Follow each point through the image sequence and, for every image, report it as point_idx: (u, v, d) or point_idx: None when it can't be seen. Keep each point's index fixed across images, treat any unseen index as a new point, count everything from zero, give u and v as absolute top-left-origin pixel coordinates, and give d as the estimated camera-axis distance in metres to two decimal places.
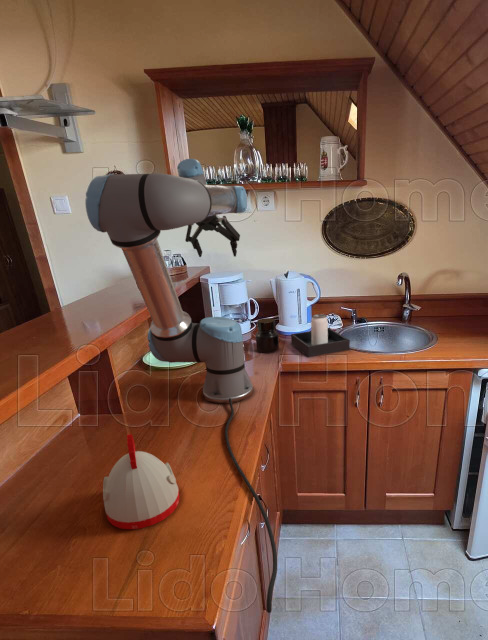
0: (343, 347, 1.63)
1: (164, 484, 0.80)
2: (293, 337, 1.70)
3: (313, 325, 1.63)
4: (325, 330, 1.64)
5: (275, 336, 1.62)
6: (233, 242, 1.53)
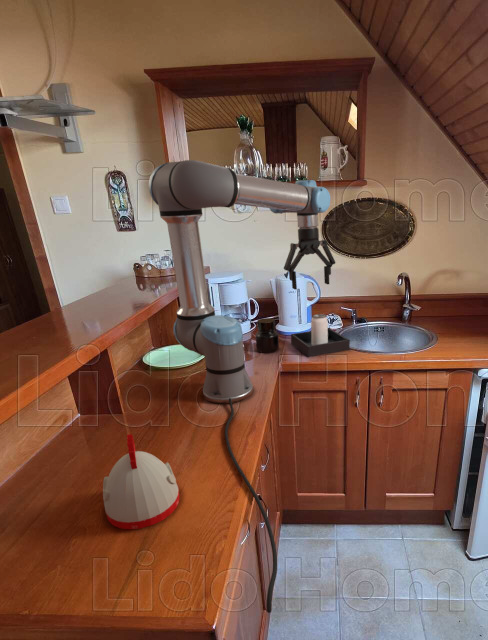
0: (343, 347, 1.63)
1: (164, 484, 0.80)
2: (293, 337, 1.70)
3: (313, 325, 1.63)
4: (325, 330, 1.64)
5: (275, 336, 1.62)
6: (331, 264, 1.59)
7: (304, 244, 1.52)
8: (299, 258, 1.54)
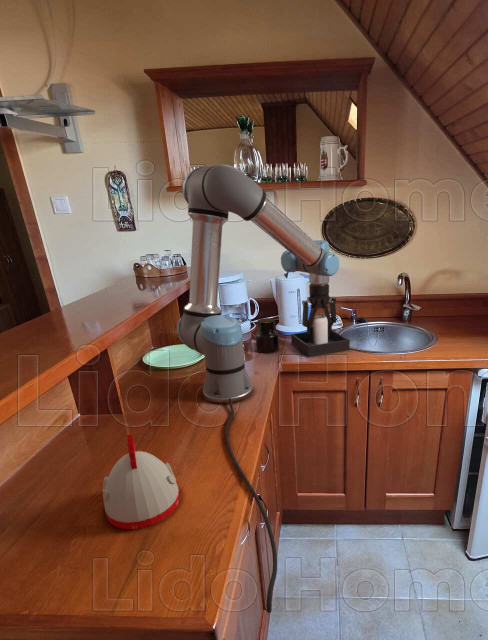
0: (343, 347, 1.63)
1: (164, 484, 0.80)
2: (293, 337, 1.70)
3: (313, 325, 1.63)
4: (325, 330, 1.64)
5: (275, 336, 1.62)
6: (332, 323, 1.65)
7: (314, 298, 1.59)
8: (313, 314, 1.61)
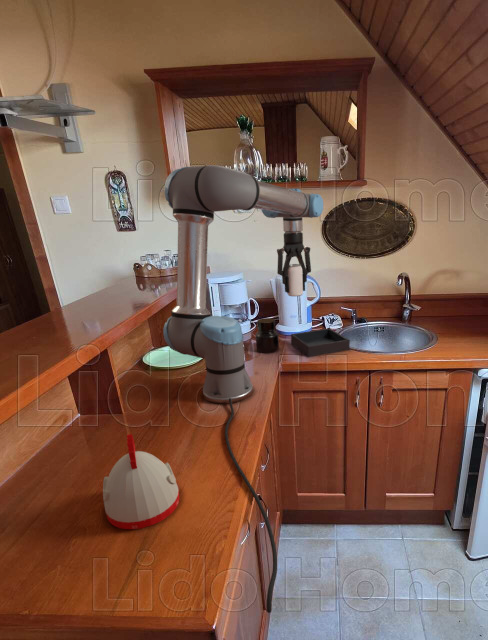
0: (343, 347, 1.63)
1: (164, 484, 0.80)
2: (293, 337, 1.70)
3: (288, 274, 1.68)
4: (300, 279, 1.69)
5: (275, 336, 1.62)
6: (307, 273, 1.70)
7: (288, 246, 1.64)
8: (288, 262, 1.66)
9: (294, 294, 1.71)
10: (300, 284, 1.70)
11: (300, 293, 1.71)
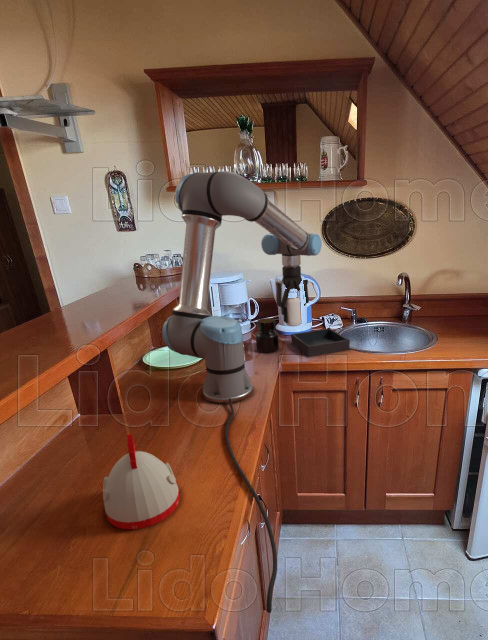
0: (343, 347, 1.63)
1: (164, 484, 0.80)
2: (293, 337, 1.70)
3: (286, 305, 1.75)
4: (298, 310, 1.76)
5: (275, 336, 1.62)
6: (305, 304, 1.77)
7: (287, 279, 1.71)
8: (286, 294, 1.73)
9: (292, 324, 1.77)
10: (298, 314, 1.77)
11: (298, 323, 1.78)
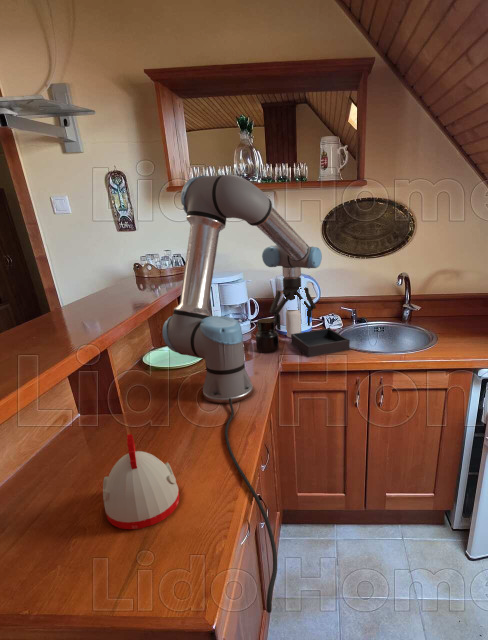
0: (343, 347, 1.63)
1: (164, 484, 0.80)
2: (293, 337, 1.70)
3: (287, 317, 1.77)
4: (298, 322, 1.78)
5: (275, 336, 1.62)
6: (312, 309, 1.79)
7: (288, 291, 1.73)
8: (283, 303, 1.74)
9: None
10: (298, 326, 1.79)
11: None
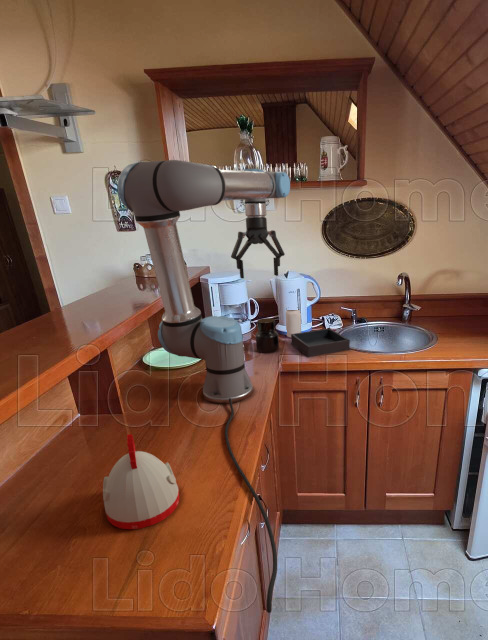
0: (343, 347, 1.63)
1: (164, 484, 0.80)
2: (293, 337, 1.70)
3: (287, 317, 1.77)
4: (298, 322, 1.78)
5: (275, 336, 1.62)
6: (280, 256, 1.59)
7: (251, 233, 1.52)
8: (246, 247, 1.53)
9: None
10: (298, 326, 1.79)
11: None
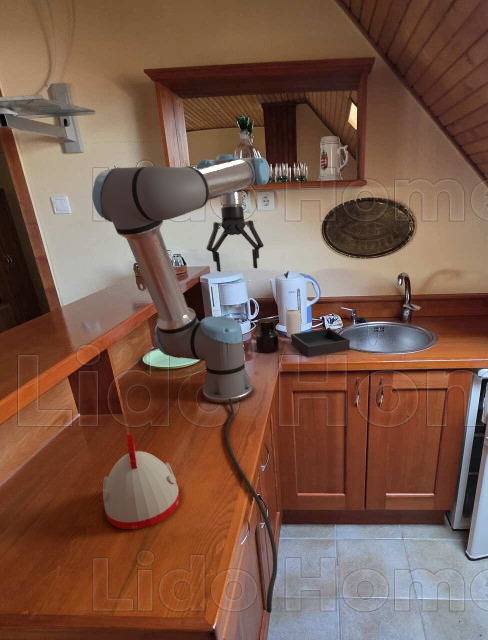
0: (343, 347, 1.63)
1: (164, 484, 0.80)
2: (293, 337, 1.70)
3: (287, 317, 1.77)
4: (298, 322, 1.78)
5: (275, 336, 1.62)
6: (258, 247, 1.51)
7: (227, 223, 1.45)
8: (222, 238, 1.46)
9: None
10: (298, 326, 1.79)
11: None
